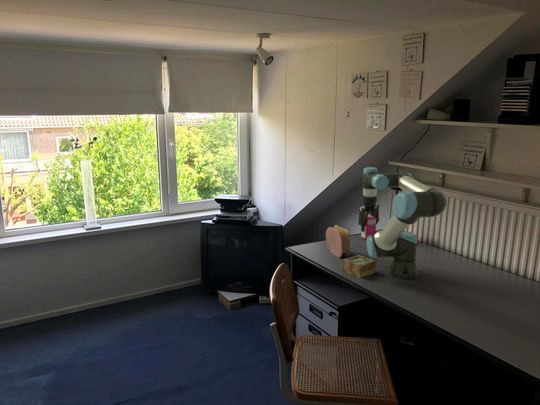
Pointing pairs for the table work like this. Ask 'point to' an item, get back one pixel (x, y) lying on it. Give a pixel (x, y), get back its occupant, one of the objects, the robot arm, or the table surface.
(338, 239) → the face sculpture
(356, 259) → the frame
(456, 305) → the table surface
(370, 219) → the supplement box
